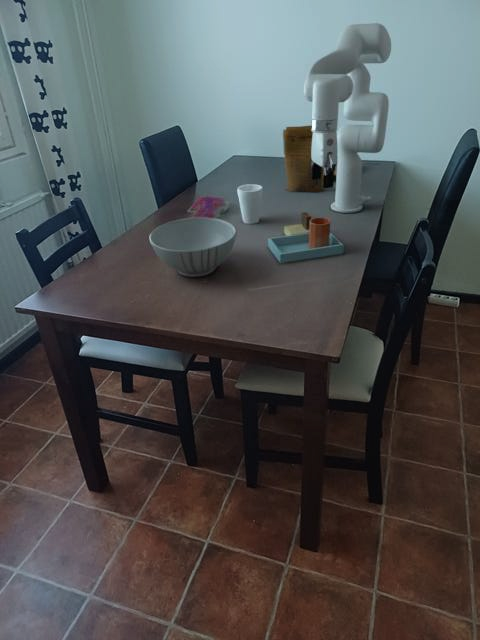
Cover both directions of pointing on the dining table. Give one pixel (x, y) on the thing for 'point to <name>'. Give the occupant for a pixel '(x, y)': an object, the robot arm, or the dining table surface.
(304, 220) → the brown switch lever
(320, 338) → the dining table surface
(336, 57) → the robot arm
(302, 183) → the pancake mix bag
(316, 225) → the cup
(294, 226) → the switch panel
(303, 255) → the blue tray
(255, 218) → the foam cup
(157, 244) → the decorative bowl
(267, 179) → the dining table surface
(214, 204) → the pink plastic packet
